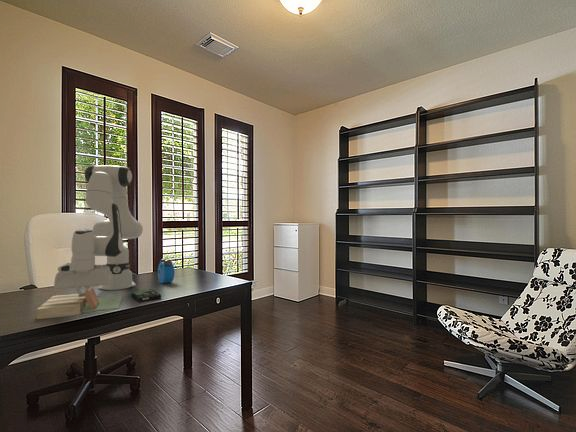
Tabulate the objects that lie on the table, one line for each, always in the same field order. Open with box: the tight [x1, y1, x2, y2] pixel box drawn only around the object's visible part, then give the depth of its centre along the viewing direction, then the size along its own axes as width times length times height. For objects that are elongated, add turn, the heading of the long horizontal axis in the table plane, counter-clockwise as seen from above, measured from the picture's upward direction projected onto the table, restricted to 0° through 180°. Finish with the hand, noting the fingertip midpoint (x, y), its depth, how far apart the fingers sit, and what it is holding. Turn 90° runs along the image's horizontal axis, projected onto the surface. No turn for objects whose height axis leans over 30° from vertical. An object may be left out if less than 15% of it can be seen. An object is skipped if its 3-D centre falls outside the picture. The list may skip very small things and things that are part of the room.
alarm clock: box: [157, 257, 175, 284], centre depth 185 cm, size 13×6×15 cm, turn 41°
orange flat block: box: [84, 287, 99, 309], centre depth 134 cm, size 10×7×2 cm
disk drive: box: [131, 288, 162, 303], centre depth 151 cm, size 10×3×15 cm
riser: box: [36, 293, 87, 320], centre depth 130 cm, size 22×14×4 cm, turn 25°
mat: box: [80, 295, 123, 314], centre depth 139 cm, size 22×14×1 cm, turn 25°
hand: (82, 296), depth 133 cm, fingers closed
